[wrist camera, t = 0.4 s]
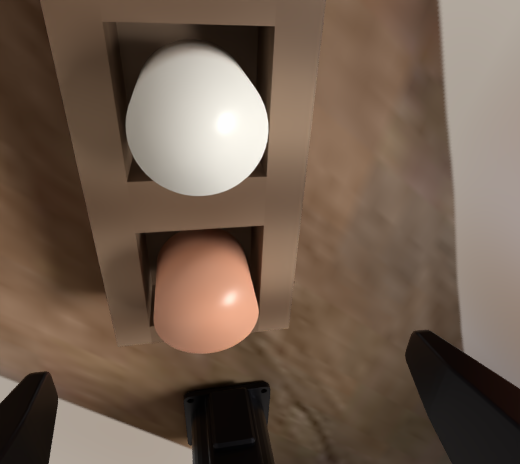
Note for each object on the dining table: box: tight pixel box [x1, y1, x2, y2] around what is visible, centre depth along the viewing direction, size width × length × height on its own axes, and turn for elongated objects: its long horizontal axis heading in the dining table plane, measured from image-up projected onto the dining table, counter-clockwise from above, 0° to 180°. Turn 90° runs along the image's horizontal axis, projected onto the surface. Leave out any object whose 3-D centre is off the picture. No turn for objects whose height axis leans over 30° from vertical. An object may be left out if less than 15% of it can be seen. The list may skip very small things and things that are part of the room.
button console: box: [40, 0, 326, 347], centre depth 18 cm, size 16×9×4 cm, turn 178°
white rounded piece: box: [126, 39, 268, 196], centre depth 14 cm, size 4×4×4 cm
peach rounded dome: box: [154, 228, 259, 354], centre depth 18 cm, size 4×4×4 cm
